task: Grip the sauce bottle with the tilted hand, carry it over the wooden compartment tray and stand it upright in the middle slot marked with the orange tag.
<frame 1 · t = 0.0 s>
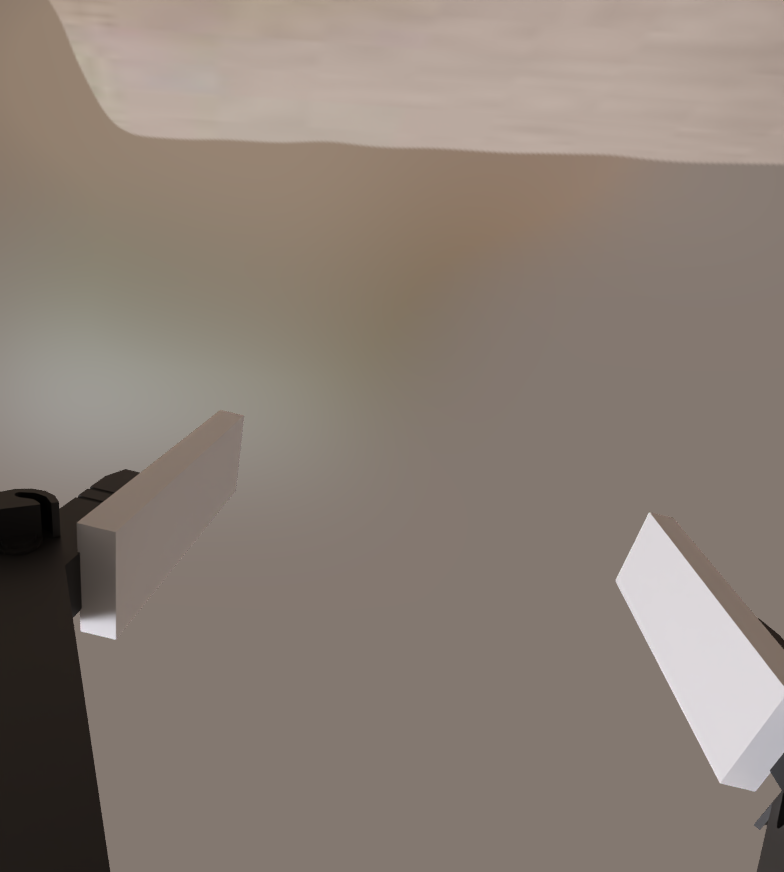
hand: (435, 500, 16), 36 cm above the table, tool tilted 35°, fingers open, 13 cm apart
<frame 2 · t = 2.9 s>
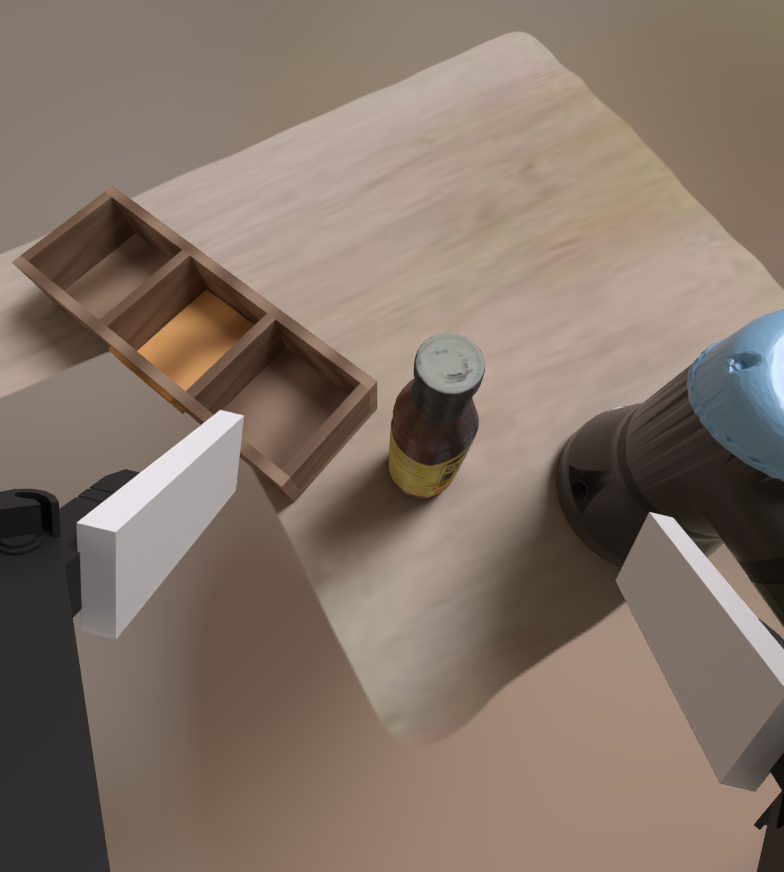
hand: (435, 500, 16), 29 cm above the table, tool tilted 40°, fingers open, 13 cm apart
wooden compartment tray: (209, 352, 50), on the table
sauce bottle: (421, 467, 46), on the table
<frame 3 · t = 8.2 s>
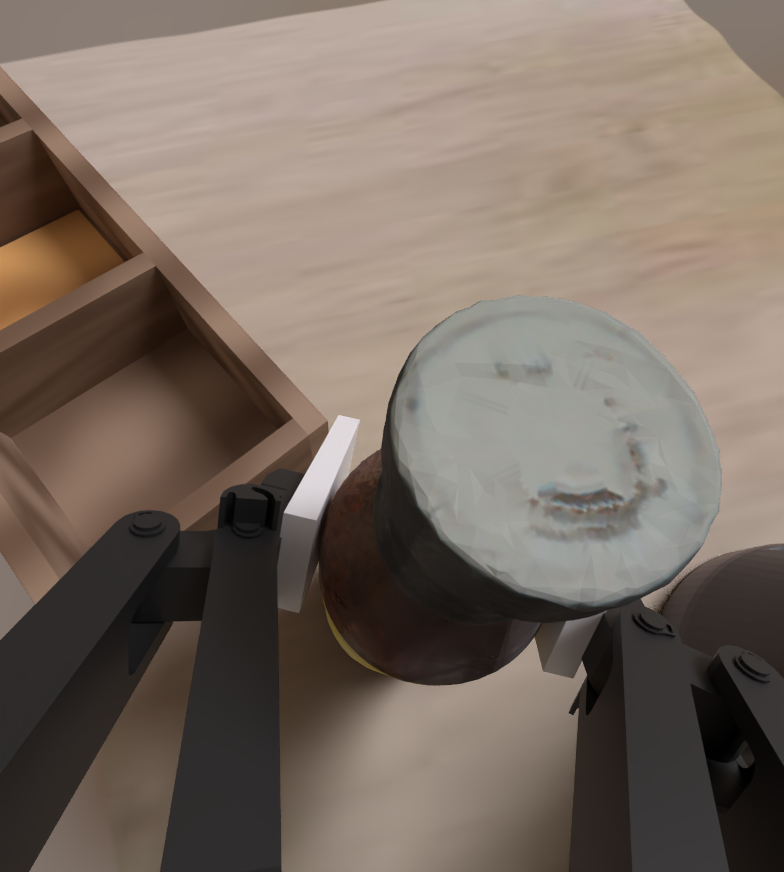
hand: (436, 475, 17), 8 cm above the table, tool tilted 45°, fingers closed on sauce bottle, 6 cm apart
wooden compartment tray: (54, 316, 28), on the table
sauce bottle: (392, 596, 24), on the table, touching gripper
when the fingers open (11 cm above the table, at t = 14.4 s): sauce bottle drops 1 cm, resting on wooden compartment tray.
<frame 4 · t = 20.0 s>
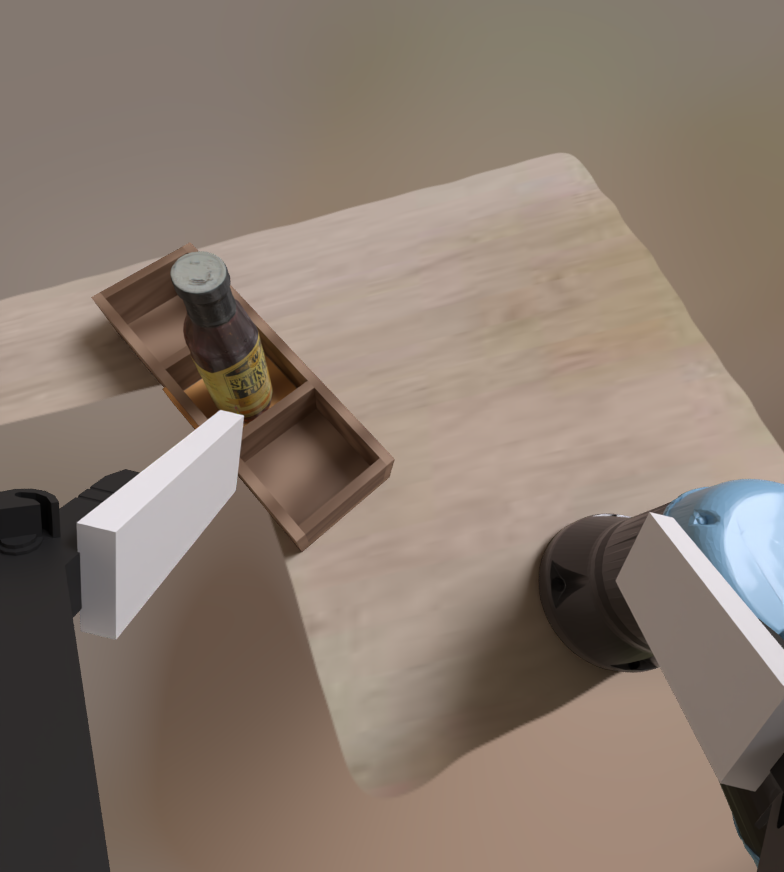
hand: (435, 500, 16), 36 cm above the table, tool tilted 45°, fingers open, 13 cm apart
wooden compartment tray: (248, 401, 55), on the table
sauce bottle: (246, 398, 54), point 1 cm above the table, touching wooden compartment tray
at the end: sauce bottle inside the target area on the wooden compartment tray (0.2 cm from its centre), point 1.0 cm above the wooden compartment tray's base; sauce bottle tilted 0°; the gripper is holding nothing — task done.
